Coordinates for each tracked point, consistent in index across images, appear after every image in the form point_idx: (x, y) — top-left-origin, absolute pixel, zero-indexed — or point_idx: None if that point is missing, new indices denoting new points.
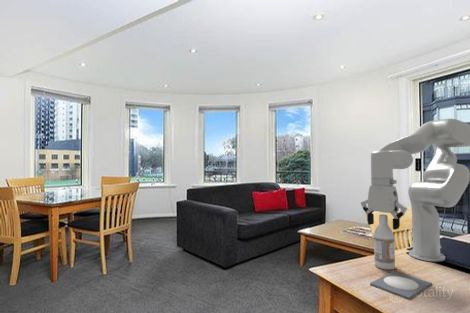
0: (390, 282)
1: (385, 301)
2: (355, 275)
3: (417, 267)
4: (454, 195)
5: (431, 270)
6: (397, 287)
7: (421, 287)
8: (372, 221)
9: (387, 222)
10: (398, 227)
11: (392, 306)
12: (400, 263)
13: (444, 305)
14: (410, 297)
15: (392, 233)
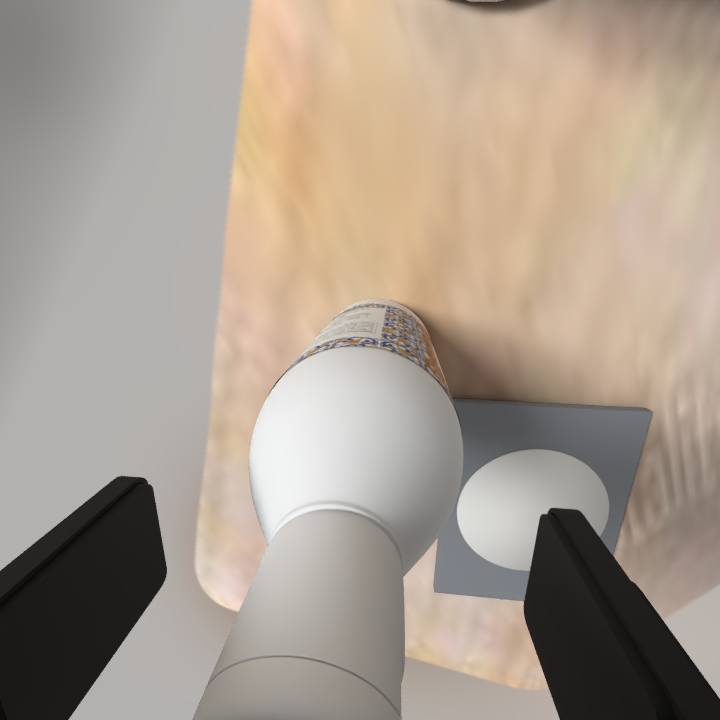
0: (495, 540)
1: (531, 656)
2: None
3: (521, 203)
4: None
5: (607, 184)
6: None
7: (620, 498)
8: (127, 542)
9: (402, 594)
10: (580, 524)
11: None
12: (415, 218)
13: (717, 564)
14: None
15: (459, 469)
